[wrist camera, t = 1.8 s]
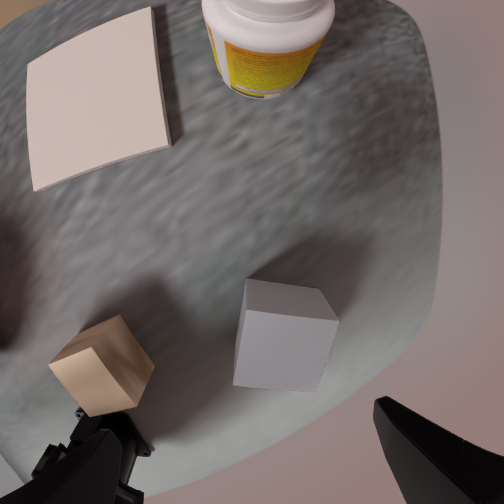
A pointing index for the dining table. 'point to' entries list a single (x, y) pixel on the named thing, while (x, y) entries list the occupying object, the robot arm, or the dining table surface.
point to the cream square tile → (96, 101)
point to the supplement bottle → (265, 41)
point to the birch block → (104, 368)
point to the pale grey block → (283, 337)
